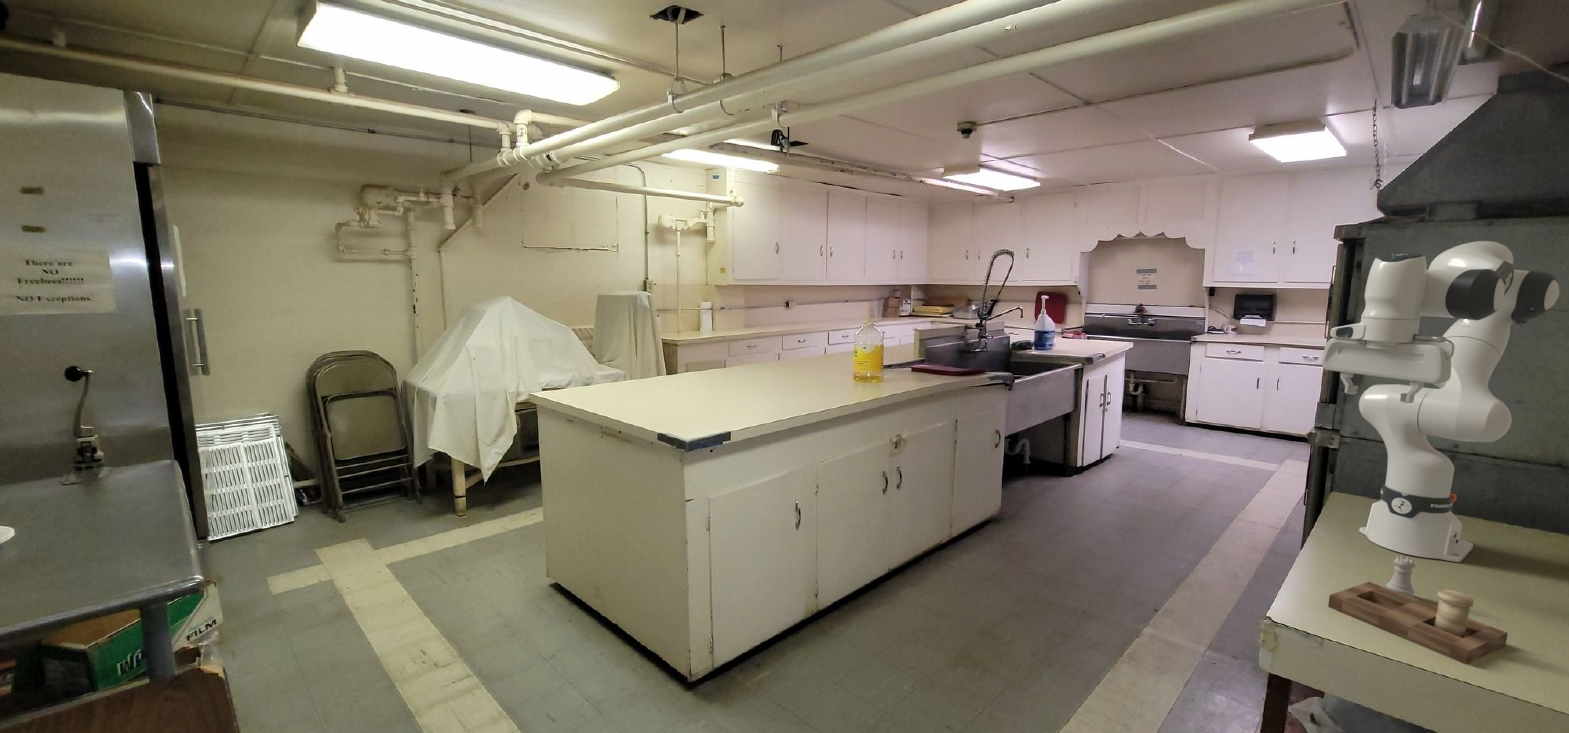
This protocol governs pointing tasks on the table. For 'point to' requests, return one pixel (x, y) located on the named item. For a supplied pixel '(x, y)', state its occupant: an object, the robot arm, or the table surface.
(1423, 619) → the pallet board
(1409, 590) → the rook chess piece
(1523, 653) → the table surface
